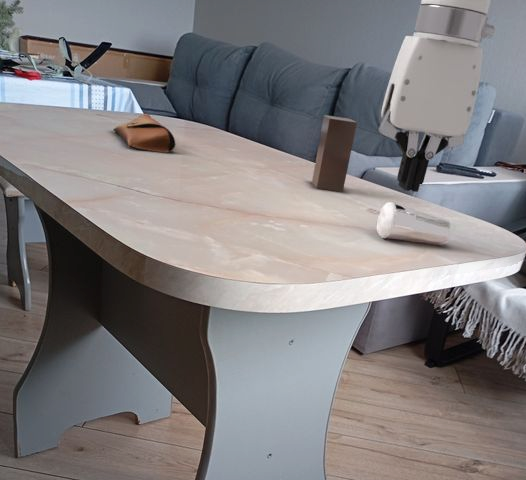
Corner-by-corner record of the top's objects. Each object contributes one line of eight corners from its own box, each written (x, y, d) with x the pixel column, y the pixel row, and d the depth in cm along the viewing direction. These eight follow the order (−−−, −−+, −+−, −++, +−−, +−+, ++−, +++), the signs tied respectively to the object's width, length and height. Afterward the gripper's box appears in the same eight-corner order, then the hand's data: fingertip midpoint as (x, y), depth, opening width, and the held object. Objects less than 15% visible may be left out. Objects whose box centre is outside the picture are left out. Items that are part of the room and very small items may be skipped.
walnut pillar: (337, 186, 106) (350, 118, 101) (342, 192, 102) (357, 122, 97) (311, 182, 105) (324, 114, 100) (316, 188, 101) (329, 118, 96)
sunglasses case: (109, 128, 121) (128, 99, 120) (139, 149, 125) (157, 121, 124) (128, 146, 107) (150, 113, 106) (161, 169, 111) (182, 138, 110)
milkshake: (444, 208, 81) (372, 192, 80) (457, 221, 77) (382, 204, 75) (431, 240, 83) (362, 225, 82) (444, 255, 79) (370, 239, 77)
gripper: (493, 39, 75) (451, 189, 83) (377, 18, 73) (345, 175, 81) (523, 40, 69) (473, 203, 77) (396, 16, 66) (359, 188, 74)
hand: (407, 188), depth 79 cm, fingers closed
